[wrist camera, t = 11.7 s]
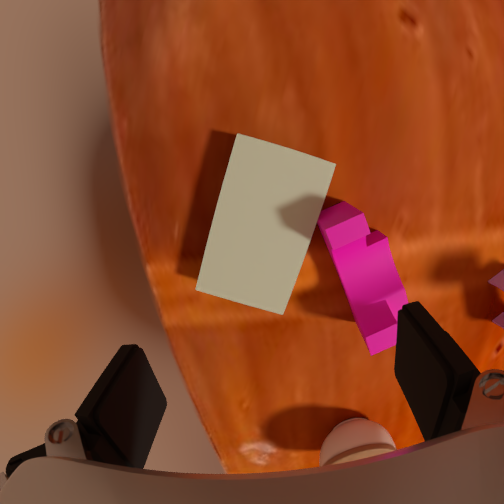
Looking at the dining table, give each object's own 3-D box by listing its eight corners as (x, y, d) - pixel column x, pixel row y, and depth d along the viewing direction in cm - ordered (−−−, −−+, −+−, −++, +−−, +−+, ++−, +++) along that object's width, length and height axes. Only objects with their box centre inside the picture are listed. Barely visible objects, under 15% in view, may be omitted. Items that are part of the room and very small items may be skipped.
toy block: (398, 301, 36) (421, 331, 28) (355, 321, 37) (371, 355, 30) (363, 192, 32) (387, 202, 25) (313, 214, 33) (325, 229, 26)
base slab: (240, 135, 31) (237, 133, 28) (329, 163, 31) (336, 164, 28) (201, 277, 36) (195, 289, 33) (281, 300, 37) (282, 314, 33)
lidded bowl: (392, 432, 43) (407, 478, 33) (329, 457, 46) (335, 504, 35) (377, 395, 40) (396, 448, 30) (303, 425, 43) (308, 479, 32)
